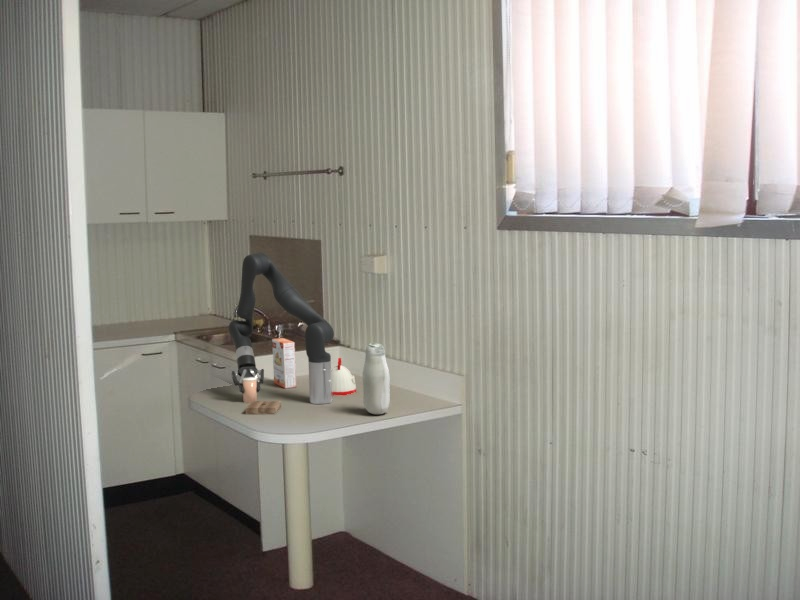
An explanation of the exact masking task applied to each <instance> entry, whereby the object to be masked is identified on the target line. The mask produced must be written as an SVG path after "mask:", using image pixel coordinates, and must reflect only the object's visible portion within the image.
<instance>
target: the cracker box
mask: <svg viewBox="0 0 800 600" xmlns="http://www.w3.org/2000/svg"><path fill="white" fill-rule="evenodd" d="M271 341H272V345H271V346H272V363H273V364H272V365H273V384H275V385H277V386H279V387H282V388H283V389H285V390H287V389H291V388H292V389H294V388H297V374H296V373H297V372H296V371H297V370H296V366H297V365H296V345H295V344H296V342H294V341H292V340H290V339H288V338H284V337H280V338H279V337H278V338H272V339H271Z"/></svg>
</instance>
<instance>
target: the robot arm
mask: <svg viewBox="0 0 800 600" xmlns="http://www.w3.org/2000/svg"><path fill="white" fill-rule="evenodd" d="M242 261H243V262H242V267H241V269H242V270H241V282H240V283H241V284H240V286H241V287H240V295H239V299H238V304H237V308H236V315H237V317H239V318H240V319H244V320H236V319H235V320H231V321H230V322H229V324H228V332H229V335H230V337H231V339H232V341H233V344H234V346H235V357H236V364H237V371H234V370H232V371H231V378H232V381H233V384H234V386H238V387H239V392H240V393H241V394H243V393H244V388H243V380H242V378H244V377H256V380H257V393H259V392H260V391H261V385H262V384H263V383H264V380H265V379H264V377H265V370H264V368H261V369H258V368H257V364H256V361H255V360H256V357H255V354H254V350H253V344H252V340H251V338H250V337H251V336H252V334H253V333H254V324H253V323H254V322H253V318H254V317H253V316H254V311H255V306H256V295H255V291H254V290H255V289H254V281H255V279H256V277H257V276H258V275H259V276H260V275H262V276H263V277H265V278H266V279H267V281H268V282H269V284H270V285H271V288H272V293H273V296H274V298H275V300H276V302H277V304H279V306H281V308H282V309H283V310H284V311H286V312H287V313H288V314H290V315H291V316H292V317H295V318H297V319H298V320H299V321H302V322H303V323H305V325H306V326H307V327H306V328H305V333H304V341H305V342H304V343H305V344H304V345H305V352H306V357H307V358H308V389H309V392H308V393H309V397H308V398H309V403H310V404H314V405H315V404H316V405H323V404H331V403H332V401H333V400H334V399H333V396H334V395H332V378H331V370H332V362H331V359H332V358H331V354H330V353H329V352H327V350H326V348H325V346H326V345H325V344H328V343H330V342H332V341H333V339H334V337H335V336H334V335H335V331H334V328H333V327H332V326H331V324H330V323H329V322H328V321H327V320H326V319H325V318H324V317H323V316H321V315H320V314H319V313H318V312H317V310H315V309H314V308H313V307H312V306H311V305H310V303H308V301H307V300H306V299H305V298H304V297H303V296H302V294H301V293H300V292H299V291H298V290H297V289H296V288H295V287H294V286H293V285H292V284H291V283H290V281H289V280H288V279H287V278H286V277H285V276H284V275H283V274H282V272H281V271H280V270H279V269H278V267H277V266H276V264H275V263H274V261H273V260H272V258H270V256H269V255H268V254H266V253H265V252H256V253H250V254H248V255H246V256H245V257H244V258H243V260H242ZM257 374H258V375H259V376H260V379H259V377H258V376H257ZM238 376H239V377H240V379H239V380H238V378H237V377H238Z"/></svg>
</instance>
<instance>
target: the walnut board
mask: <svg viewBox="0 0 800 600" xmlns="http://www.w3.org/2000/svg"><path fill="white" fill-rule="evenodd" d="M281 408H282V400H265V401H264V400H262V401H261V400H257V401H252V402H251V403H248V404H247V405H246V406H245V415H275V414H274V413H276V414H277V413H278V412H279V411H280V409H281ZM278 410H279V411H278ZM277 411H278V412H277ZM270 413H271V414H270ZM272 413H273V414H272Z"/></svg>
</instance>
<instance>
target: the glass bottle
mask: <svg viewBox="0 0 800 600" xmlns="http://www.w3.org/2000/svg"><path fill="white" fill-rule="evenodd" d="M364 352H365V357H364V358H365V359H364V364H363V369H362V392H363V393H362V394H363V405H364V408H365V410H366V412H367V413H370V414H372V415H374V416H378V415H379V416H380V415H382V414H385V413H386V412H387V411H388V409H389V407H390V401H391V400H390V399H391V397H390V396H391V395H390V394H391V392H390V391H391V390H390V389H391V387H390V385H391V382H390V381H391V380H390V371H389V366H388V362H387V358H386V351H385V347H384V346H383V344H382V343H379V342H371V343H368V344H367V346H366V347H365V351H364Z"/></svg>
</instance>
